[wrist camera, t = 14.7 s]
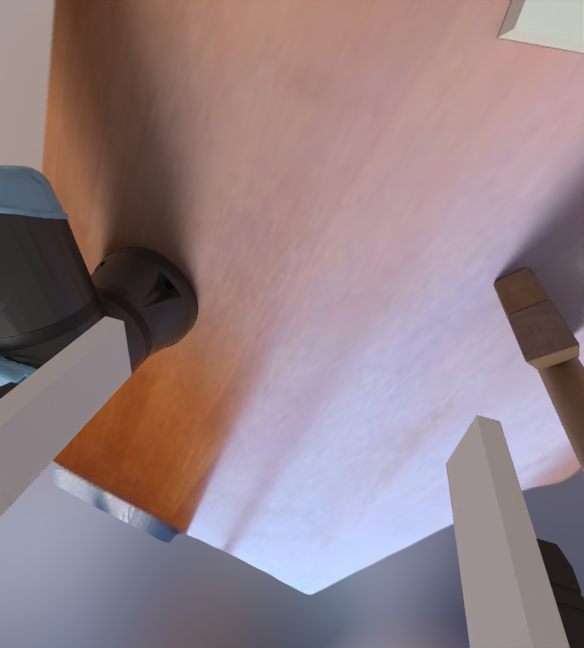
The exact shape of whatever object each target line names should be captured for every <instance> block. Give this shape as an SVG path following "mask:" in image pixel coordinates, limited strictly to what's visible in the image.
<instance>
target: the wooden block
mask: <svg viewBox="0 0 584 648" xmlns="http://www.w3.org/2000/svg"><path fill="white" fill-rule="evenodd" d="M494 287H495V290H496V292H497V295H498V297H499V299H500V302H501V304H502V306H503V309H504V311H505V314H506V316H507V318H508V320H509V323H510V325H511V328H512V330H513V332H514V335H515V337H516V339H517V342H518V344H519V347H520V349H521V351H522V354H523V356H524V359H525V361H526V362H527V363H528V364H530V365H531V366H533V367H534V368H536V369H537V370H538V372H539V374H540V376H541V378H542V381H543V383H544V385H545V387H546V390H547V392H548V394H549V396H550V399H551V401H552V403H553V405H554V407H555V410H556V412H557V414H558V416H559V419H560V421H561V423H562V425H563V428H564V430H565V432H566V434H567V436H568V439H569V441H570V443H571V445H572V448H573V450H574V452H575V454H576V457H577V459H578V461H579V463H580V465H581V468H582V470H583V472H584V367H583V365H582V364H581V362H580V360H579V359H578V357H579V343H578V341H577V340H576V338H575V337H574V335H573V334H572V332H571V331H570V329H569V327H568V326H567V324H566V323H565V321H564V320H563V318H562V317H561V315H560V314H559V312H558V311H557V309H556V308H555V306H554V305H553V303H552V301H551V300H550V299H549V298H548V296H547V295H546V293H545V292H544V290H543V289H542V287H541V285H540V284H539V282H538V281H537V279H536V278H535V276H534V275H533V273H532V272H531V270H530V269H529V268H524V269H522V270H520V271H517V272H515V273H513V274H511V275H508V276H506V277H504V278H502V279H500V280H497V281H495V282H494Z"/></svg>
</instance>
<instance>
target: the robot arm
mask: <svg viewBox="0 0 584 648" xmlns="http://www.w3.org/2000/svg"><path fill="white" fill-rule="evenodd" d="M67 219H69V218H68V215H67V213H65V212H64V211H63V209H62V207H61V205H60V203H59V201H58V199H57V196H56V194H55V192H54V190H53V188H52V186H51V184H50V182H49V181H48V179H47V178H46V177H45V176H44V175H43V174H42V173H40V172H39V171H37V170H35V169H33V168H30V167H26V166H0V517H1V516H2V515H3V513H4V512H5V511H6V510H7V509H8V508H9V507H10V506H11V505H12V504H13V503H14V501H15V500H16V499H17V498H18V497H19V496H20V495H21V494H22V493H23V492H24V491H25V490H26V488H27V487H28V486H29V485H30V484H31V483H32V482H33V481H34V480H35V479H36V478H37V477H38V476H39V474H40V473H41V472H42V471H43V470H44V469H45V468H46V467H47V466H48V465H49V464H50V462H51V461H52V460H53V459H54V458H55V457H56V456H57V455H58V454H59V453H60V452H61V451H62V450H63V448H64V447H65V446H66V445H67V444H68V443H69V442H70V441H71V440H72V439H73V438H74V437H75V435H76V434H77V433H78V432H79V431H80V430H81V429H82V428H83V427H84V426H85V425H86V424H87V422H88V421H89V420H90V419H91V418H92V417H93V416H94V415H95V414H96V413H97V412H98V411H99V410H100V408H101V407H102V406H103V405H104V404H105V403H106V402H107V401H108V400H109V399H110V397H111V396H112V395H113V394H114V393H115V392H116V391H117V390H118V389H119V388H120V387H121V386H122V384H123V383H124V382H125V381H126V380H127V379H128V378H129V377H130V376H131V375H132V373H133V372H134V371H135V370H136V369H137V368H138V367H139V366H140V365H141V364H142V363H143V362H144V361H145V360H146V359H147V358H148V357H149V356H150V355H152V354H154V353H156V352H158V351H160V350H161V349H163V348H166V347H170V346H172V345H174V344H176V343H178V342H179V341H181V340H182V339H183V338H184V337H185V336H186V335H187V334H188V332H189V331H190V330H191V329H192V327H193V326H194V324H195V321H196V318H197V303H196V299H195V295H194V293H193V290H192V288H191V286H190V284H189V283H188V281H187V279H186V278H185V277H184V275H183V274H182V273H181V272H180V271H179V269H178V268H177V267H176V266H174V265H173V264H172V263H171V262H170V261H168V260H167V259H166V258H164V257H163V256H161V255H159V254H157V253H155V252H153V251H150V250H147V249H143V248H138V247H128V248H123V249H120V250H118V251H116V252H114V253H112V254H111V255H109V256H107V257H106V258H104V259H103V260H102V261H101V262H100V263H99V264H98V266H97V267H96V269H95V271H94V272H93V273H92V275H91V276H90V274H89V272H88V269H87V267H86V264H85V262H84V260H83V257H82V255H81V252H80V250H79V248H78V245H77V243H76V240H75V238H74V235H73V233H72V230H71V228H70V225H69V222H68V220H67ZM446 466H447V474H448V482H449V489H450V497H451V505H452V512H453V520H454V528H455V535H456V543H457V551H458V558H459V565H460V573H461V581H462V589H463V596H464V604H465V612H466V620H467V627H468V635H469V643H470V648H584V598H583V596H581V590H580V587H579V584H578V581H577V579H576V576H575V573H574V571H573V568H572V566H571V565H570V563H569V562H568V560H567V559H566V557H565V556H564V554H563V553H562V551H561V550H560V548H559V547H558V545H557V544H554V543H550V542H547V541H544V540H540V539H537V538H536V536H535V533H534V530H533V527H532V524H531V520H530V517H529V514H528V510H527V507H526V504H525V501H524V497H523V494H522V491H521V488H520V484H519V481H518V478H517V475H516V471H515V468H514V465H513V462H512V459H511V455H510V452H509V449H508V446H507V442H506V439H505V436H504V433H503V429H502V426H501V423H500V421H497V420H493V419H489V418H486V417H482V416H478V415H476V417H475V419H474V420H473V422H472V423H471V425H470V427H469V428H468V430H467V431H466V433H465V435H464V436H463V438H462V439H461V441H460V443H459V444H458V446H457V447H456V449H455V451H454V452H453V454H452V455H451V457H450V459H449V460H448V462H447V463H446Z"/></svg>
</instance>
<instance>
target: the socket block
mask: <svg viewBox="0 0 584 648" xmlns="http://www.w3.org/2000/svg"><path fill="white" fill-rule="evenodd" d="M497 38H499V39H505V40H510V41H516V42H521V43H527V44H533V45H538V46H544V47H549V48H555V49H560V50H566V51H571V52H577V53H582V54H584V0H511V3H510V6H509V8H508V11H507V13H506V16H505V19H504V21H503V24H502V26H501V29H500V31H499V34H498V37H497Z"/></svg>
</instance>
